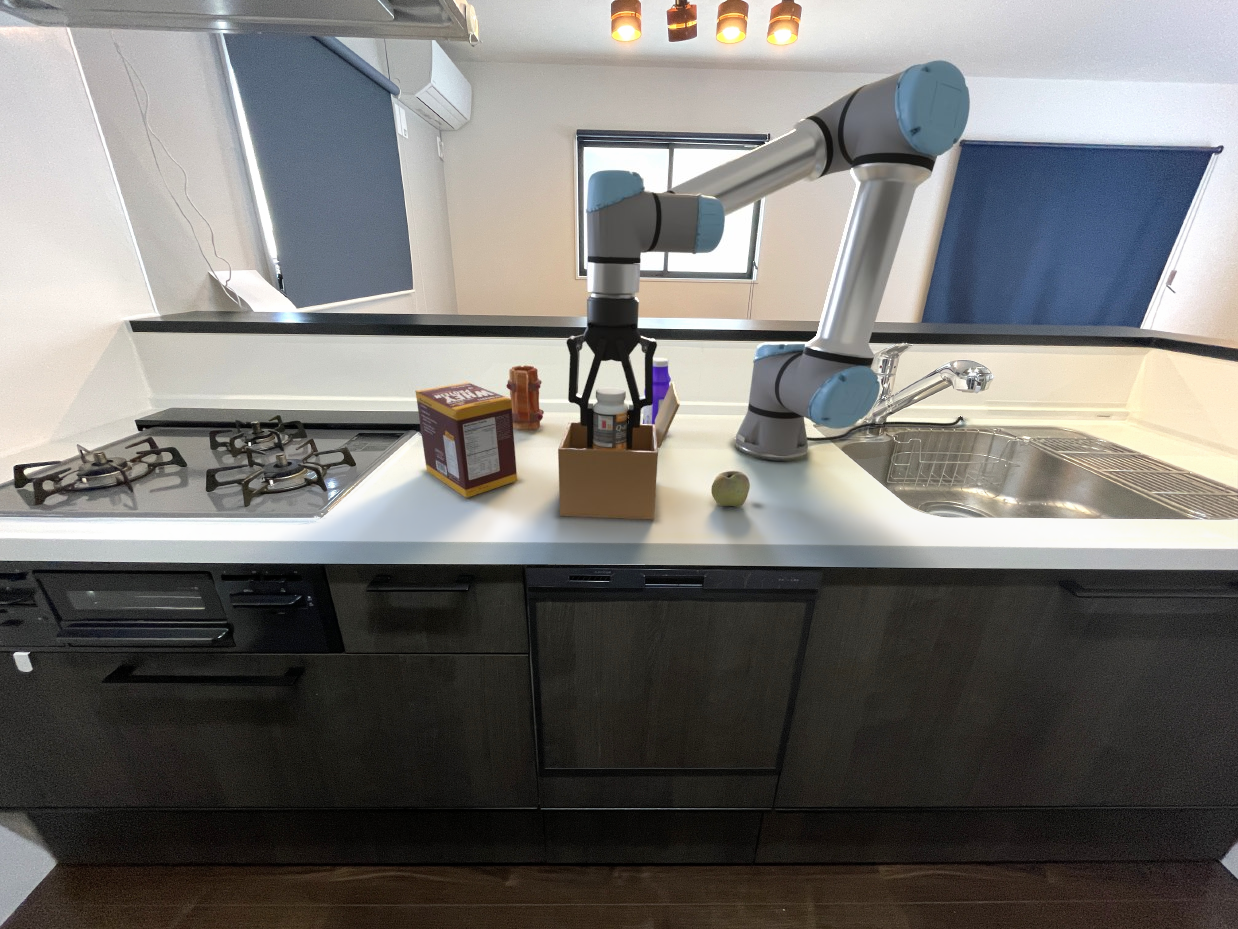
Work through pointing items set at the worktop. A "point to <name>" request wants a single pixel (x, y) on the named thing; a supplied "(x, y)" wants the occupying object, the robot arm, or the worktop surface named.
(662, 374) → the bottle
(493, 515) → the worktop surface
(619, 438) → the pill bottle
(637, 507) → the carton
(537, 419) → the mug
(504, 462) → the supplement box
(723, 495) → the apple
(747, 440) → the robot arm
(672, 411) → the flap
